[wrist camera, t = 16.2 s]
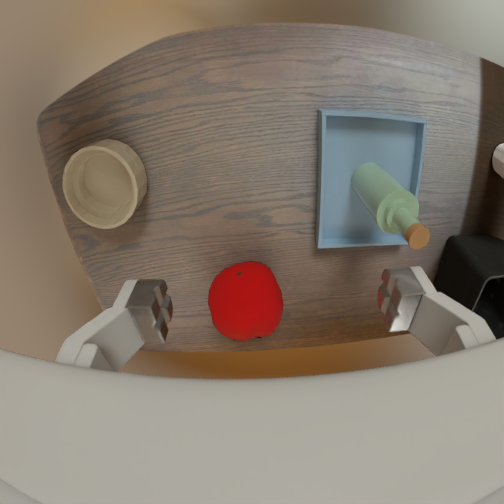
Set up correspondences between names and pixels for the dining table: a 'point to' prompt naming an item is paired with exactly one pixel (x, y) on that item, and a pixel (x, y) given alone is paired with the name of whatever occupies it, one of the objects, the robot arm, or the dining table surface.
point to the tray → (350, 158)
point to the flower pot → (475, 277)
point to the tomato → (245, 301)
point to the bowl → (104, 183)
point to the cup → (499, 160)
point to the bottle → (390, 204)
